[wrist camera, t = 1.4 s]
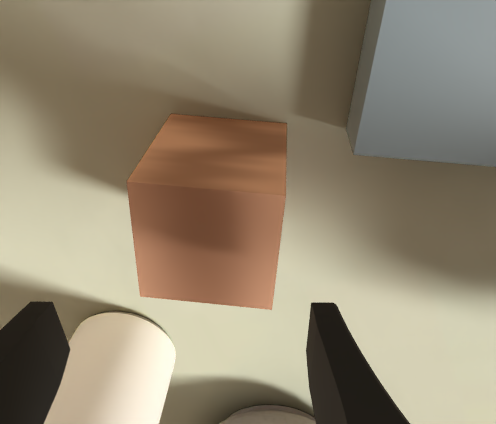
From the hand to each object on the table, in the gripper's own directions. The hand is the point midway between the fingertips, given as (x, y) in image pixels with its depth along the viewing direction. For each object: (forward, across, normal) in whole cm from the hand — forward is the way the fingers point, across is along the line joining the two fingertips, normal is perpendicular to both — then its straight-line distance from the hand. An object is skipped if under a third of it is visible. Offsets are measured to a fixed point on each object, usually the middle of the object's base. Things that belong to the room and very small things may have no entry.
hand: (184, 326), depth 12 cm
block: (+9, -1, 0) cm, 9 cm away
